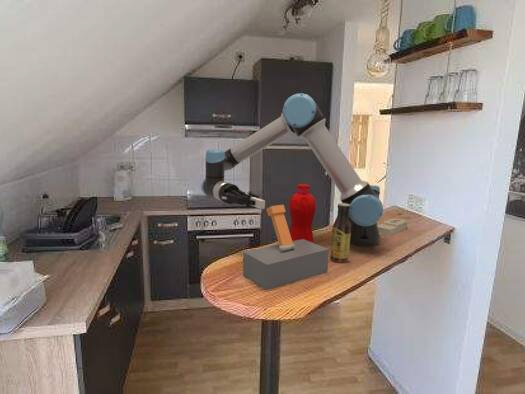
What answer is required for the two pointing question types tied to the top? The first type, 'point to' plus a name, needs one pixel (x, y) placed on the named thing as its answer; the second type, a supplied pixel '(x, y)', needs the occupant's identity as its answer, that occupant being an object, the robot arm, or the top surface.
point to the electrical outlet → (392, 226)
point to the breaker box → (284, 264)
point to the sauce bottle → (341, 234)
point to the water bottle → (302, 214)
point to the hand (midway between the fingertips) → (263, 204)
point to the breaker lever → (281, 227)
